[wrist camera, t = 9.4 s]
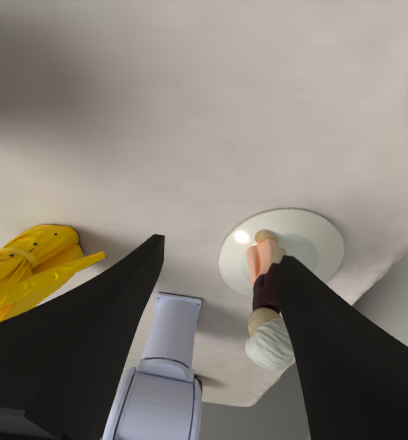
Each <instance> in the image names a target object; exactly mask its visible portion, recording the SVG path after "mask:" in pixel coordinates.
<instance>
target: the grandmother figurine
mask: <svg viewBox="0 0 408 440" xmlns="http://www.w3.org/2000/svg"><path fill="white" fill-rule="evenodd" d="M255 240H256V242H257V243H258V245H252V246H250V247H249V248H248V249H247V263H248V268H249V272H250V278H251V283H252V286H253V313H252V314H251V315H250V317H249V321H248V330H249V334H250V338H248V339H247V341H246V352H247V354H248V356H249V357H250V358H251V359H252V360H253V361H255V362H256V363H257V364H259V365H260V366H262V367H265V368H270V369H273V370H282V369H284V368H285V367H288V366H289V365H290V363H291V362H292V360H293V357H294V352H293V348H292V344H291V341H290V337H289V334H288V331H287V329H286V326H285V323H284V320H283V319H282V318H281V316H280V315H279V314H280V308H279V305H278V302H277V299H276V296H275V292H274V288H273V282H272V277H273V275H274V273H275V271H276V269H277V267H278V265H279V263H280V261H281V260H282V258H283V256H284V255H287V252H286V250H285V249H283V248H277V244H278V238H277V237H276V236H274V235H273V234H272V233H270V232H268V231H267V230H260V231H258V232H257V233H256V235H255Z"/></svg>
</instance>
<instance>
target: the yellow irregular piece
mask: <svg viewBox="0 0 408 440" xmlns="http://www.w3.org/2000/svg"><path fill="white" fill-rule="evenodd" d="M78 239H79V237H78V234H77V232H76V231H75V230H74V229H72V228H71V227H68V226H63V225H37V226H35V227H33V228H31V229H29V230H27V231H25V232H23V233H22V234H20V235H18V236H17V237H15V238H14V239H13V240H11V241H10V242H9V243H7V244H6V245H5V246H4V247H2V248H1V249H0V322H1V321H4V320H6V319H9V318H11V317H14V316H16V315H19V314H21V313H23V312H26V311H28V310H30V309H32V308H34V307H35V306H36V305H37V304H39V303H40V302H41V301H42V300H44V299H45V298H47V297H48V296H49V295H51V294H52V293H54V292H55V291H56V290H58V289H59V288H60V287H61V286H63V285H64V284H65V283H66V282H67V281H68V280H69V279H70V278H71V277H72V276H73V275H74V274H75V273H76V272H79V271H81V270H83V269H85V268H87V267H89V266H90V265H92V264H94V263H96V262H98V261H100V260H102V259H104V258H105V257H106V255H105V253H104V252H103V251H102V252H98V253H95V254H92V255H89V256H86V257H84V255H83V252H82V250H81V248H80V246H79V245H78V244H77V243H78Z"/></svg>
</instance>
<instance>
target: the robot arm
mask: <svg viewBox="0 0 408 440" xmlns="http://www.w3.org/2000/svg"><path fill="white" fill-rule="evenodd" d="M164 241H165V236H164V235H158V234H154V235H152V236H151V237H150V238H149V239H147V240H146V241H145V242H144V243H143V244H141V245H140V246H139V247H138V248H136V249H135V250H134V251H133V252H131V253H130V254H129V255H127V256H126V257H125V258H123V259H122V260H120V261H119V262H117V263H116V264H115V265H113V266H112V267H110V268H109V269H107V270H106V271H104V272H102V273H101V274H99V275H97V276H96V277H94V278H92V279H91V280H89V281H87V282H85V283H83V284H82V285H80V286H78V287H76V288H74V289H72V290H70V291H68V292H66V293H64V294H62V295H60V296H58V297H56V298H54V299H52V300H50V301H48V302H46V303H44V304H41V305H39V306H37V307H35V308H32V309H30V310H28V311H26V312H23V313H21V314H19V315H16V316H14V317H11V318H9V319H6V320H4V321H1V322H0V440H99V439H100V438H101V437H102V436H103V440H198V437H199V431H200V424H201V412H202V411H201V410H202V393H201V388H200V386H199V383H198V381H197V379H194V370H192V369H191V366H192V356H193V347H194V337H195V329H196V325H197V321H198V316H199V312H200V307H201V303H202V300H201V299H198V298H191V297H184V296H177V295H171V294H164V293H156V296H155V299H156V314H155V317H154V320H153V323H152V326H151V330H150V333H149V336H148V339H147V342H146V345H145V348H144V351H143V354H142V357H141V359H140V360H139V363H138V366H137V369H136V367H131V368H130V369H129V370H128V371H127V372H126V373H125V375H124V377H123V379H122V382H121V384H120V387H119V389H118V392H117V395H116V397H115V394H116V390H117V387H118V384H119V381H120V378H121V375H122V372H123V368H124V365H125V362H126V359H127V356H128V353H129V350H130V347H131V344H132V341H133V338H134V335H135V332H136V330H137V327H138V324H139V321H140V319H141V316H142V314H143V311H144V309H145V307H146V305H147V302H148V300H149V298H150V296H151V293H152V291H153V289H154V287H155V284H156V282H157V280H158V277H159V275H160V272H161V268H162V265H163V262H164ZM272 282H273V288H274V292H275V296H276V299H277V302H278V305H279V308H280V311H281V314H282V317H283V320H284V323H285V326H286V329H287V331H288V334H289V337H290V341H291V344H292V348H293V352H294V356H295V360H296V364H297V368H298V372H299V377H300V382H301V386H302V391H303V396H304V401H305V407H306V412H307V417H308V423H309V429H310V436H311V440H408V347H407V346H406V345H404V344H403V343H401V342H400V341H398V340H397V339H395V338H394V337H393V336H391V335H390V334H388V333H387V332H385V331H384V330H383V329H381V328H380V327H378V326H377V325H376V324H374V323H373V322H371V321H370V320H369V319H368V318H366V317H365V316H364V315H362V314H361V313H360V312H358V311H357V310H356V309H354V308H353V307H352V306H351V305H350V304H348V303H347V302H346V301H345V300H343V299H342V298H341V297H340V296H339V295H337V294H336V293H335V292H334V291H333V290H332V289H330V288H329V287H328V286H327V285H326V284H325V283H324V282H323V281H321V280H320V279H319V278H318V277H317V276H316V275H315V274H314V273H313V272H311V271H310V270H309V269H308V268H307V267H306V266H305V265H304V264H302V263H301V262H300V261H299V260H298V259H296V258H295V257H294V256H288V255H284V256H283V258H282V260H281V261H280V263H279V265H278V267H277V269H276V271H275V273H274V275H273V277H272ZM135 370H136V371H135ZM114 397H115V400H114ZM113 400H114V403H113ZM112 403H113V406H112ZM111 407H112V409H111ZM110 410H111V412H110ZM109 413H110V415H109ZM108 417H109V418H108ZM107 420H108V421H107ZM106 423H107V424H106ZM104 430H105V431H104ZM103 433H104V435H103Z"/></svg>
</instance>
